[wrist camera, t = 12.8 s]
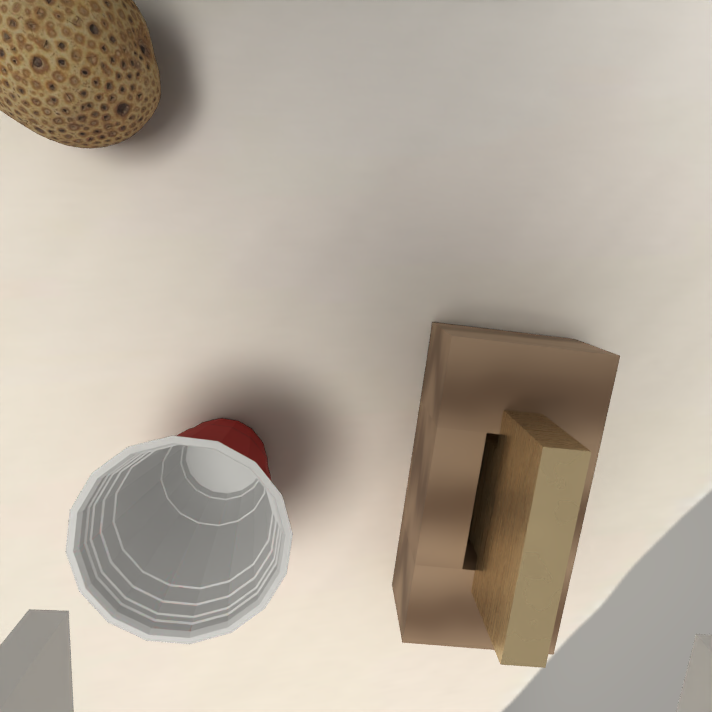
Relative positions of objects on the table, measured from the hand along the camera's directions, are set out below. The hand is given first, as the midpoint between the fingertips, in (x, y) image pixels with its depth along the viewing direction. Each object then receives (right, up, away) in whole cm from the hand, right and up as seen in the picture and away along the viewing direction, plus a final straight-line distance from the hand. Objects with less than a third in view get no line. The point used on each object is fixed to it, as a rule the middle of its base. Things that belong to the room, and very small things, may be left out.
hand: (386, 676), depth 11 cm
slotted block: (+8, -1, +27) cm, 28 cm away
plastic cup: (-10, 0, +26) cm, 28 cm away
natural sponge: (-16, +23, +21) cm, 35 cm away
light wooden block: (+8, -1, +26) cm, 28 cm away
